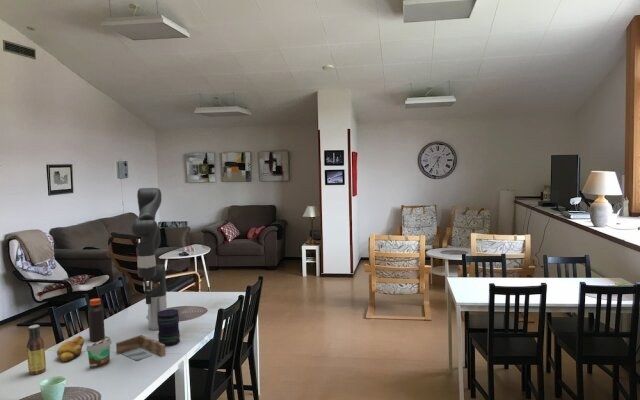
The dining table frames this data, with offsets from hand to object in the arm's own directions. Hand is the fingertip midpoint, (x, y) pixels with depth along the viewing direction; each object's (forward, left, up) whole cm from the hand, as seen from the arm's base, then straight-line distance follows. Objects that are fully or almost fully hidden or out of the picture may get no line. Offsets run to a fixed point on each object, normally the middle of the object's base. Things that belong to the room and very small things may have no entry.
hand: (148, 301), depth 207 cm
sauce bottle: (-24, -38, -25) cm, 51 cm away
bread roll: (-30, -23, -25) cm, 45 cm away
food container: (-10, -17, -25) cm, 32 cm away
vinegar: (-41, -5, -25) cm, 48 cm away
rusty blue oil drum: (-8, +14, -25) cm, 30 cm away
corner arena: (-6, -2, -25) cm, 26 cm away
